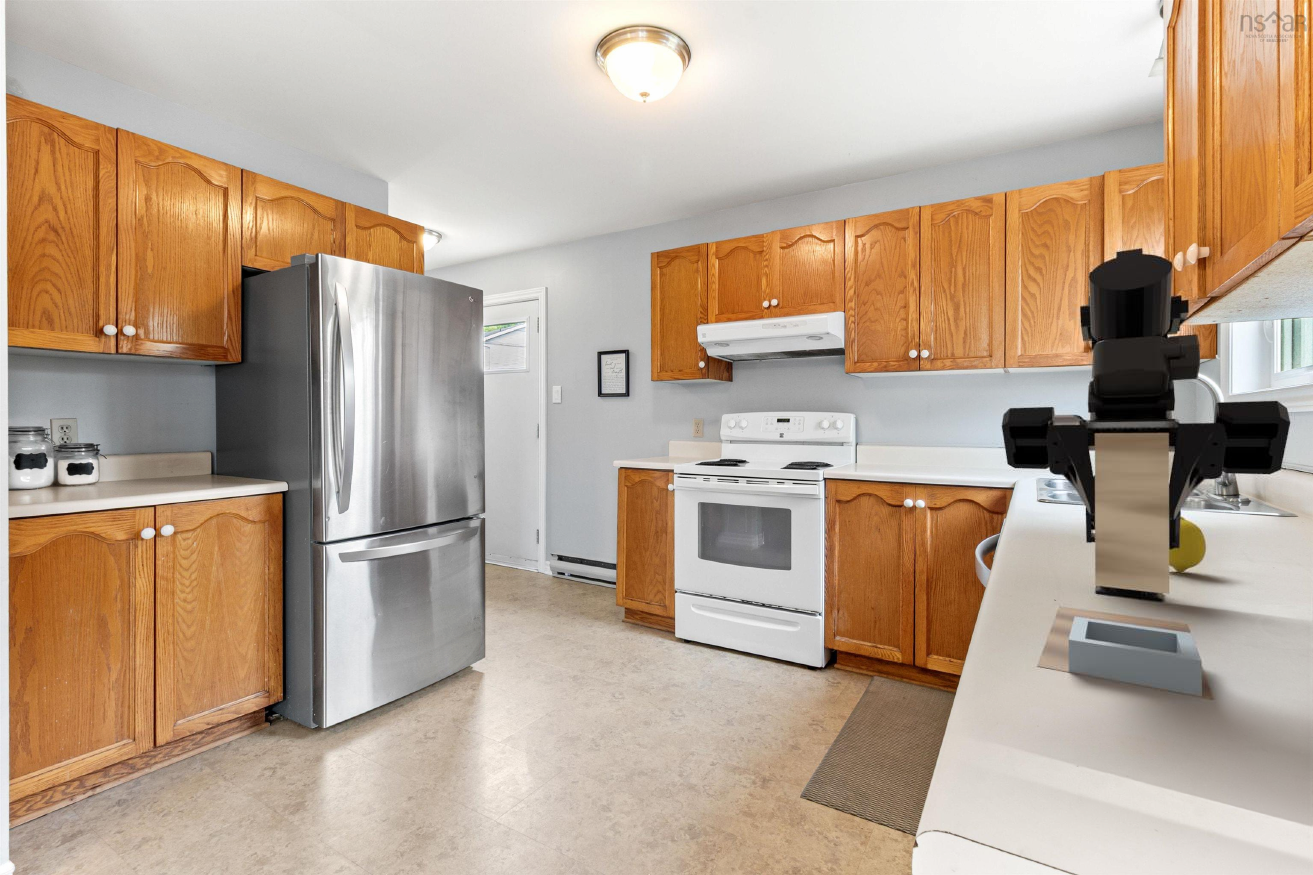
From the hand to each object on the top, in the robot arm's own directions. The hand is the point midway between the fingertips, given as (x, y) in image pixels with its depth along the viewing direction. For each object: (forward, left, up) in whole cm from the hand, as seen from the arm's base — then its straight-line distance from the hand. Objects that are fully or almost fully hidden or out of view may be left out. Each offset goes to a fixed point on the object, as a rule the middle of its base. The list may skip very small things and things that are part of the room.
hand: (1130, 513), depth 48 cm
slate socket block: (-1, 0, -12) cm, 12 cm away
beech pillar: (-1, 0, -6) cm, 6 cm away
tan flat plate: (-8, -1, -13) cm, 16 cm away
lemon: (-55, +6, -14) cm, 57 cm away
